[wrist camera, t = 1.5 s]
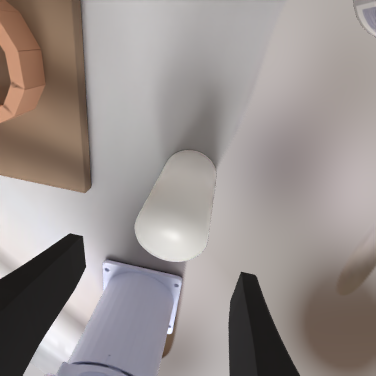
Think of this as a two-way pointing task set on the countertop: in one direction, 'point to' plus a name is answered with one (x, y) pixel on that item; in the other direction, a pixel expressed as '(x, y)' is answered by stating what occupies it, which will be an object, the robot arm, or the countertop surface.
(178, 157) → the white tube
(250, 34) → the countertop surface
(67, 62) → the holder board
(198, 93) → the countertop surface
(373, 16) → the energy drink
